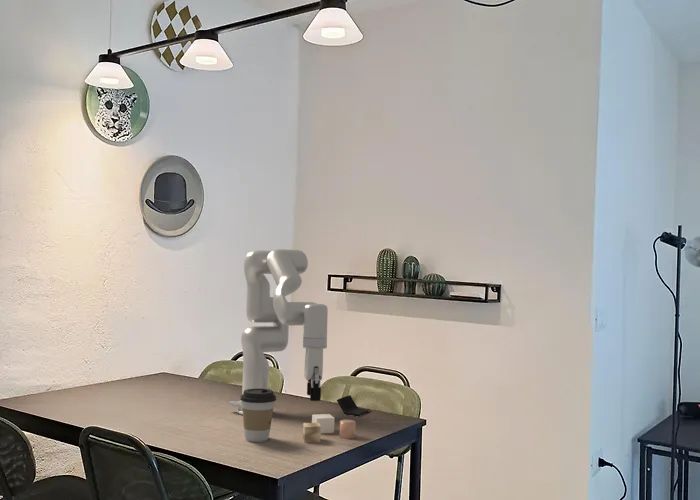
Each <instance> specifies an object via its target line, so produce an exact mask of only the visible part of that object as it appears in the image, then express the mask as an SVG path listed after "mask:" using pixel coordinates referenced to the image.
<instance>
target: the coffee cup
mask: <svg viewBox="0 0 700 500" xmlns="http://www.w3.org/2000/svg"><path fill="white" fill-rule="evenodd" d="M239 401H242V410H243V415H242V419H243V428H244V431H243V432H244V437H245V441H247V442H251V443H262V442H266V441H268V440H269V437H270V433H271V427H272V426H271V425H272V419H273V414H274V406H275V402H276V401H277V396H276V395H275V394H274V391H273V389H269V388H268V389H260V388H256V389H247V390H244V392H243V395H242V394H241V395H240V398H239Z"/></svg>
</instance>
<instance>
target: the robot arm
mask: <svg viewBox="0 0 700 500" xmlns="http://www.w3.org/2000/svg"><path fill="white" fill-rule="evenodd" d="M308 266H309V261H308V257H307V255H306V253H304V252H303V250H299V249H285V248H282V249H281V248H280V249H279V248H277V249H274V250H261V249H260V250H253V251H249V252H248V253H247V254H246V256H245V257H244V261H243V272H244V273H243V274H244V277H245V281H246V306H245V308H246V317H247V320H248V321H249V322H251V323H263V324H264V323H265V324H266V323H272V325H270V326H267V325H266V326H265V325H261V326H259V325H258V326H251V327H250V326H249V327H246V328H245V329H244V330H243V331H242V333H241V341H240V342H241V348H242V360H243V361H242V385H241V386H242V389H241V392H242V394H241V395H243V392H244V390H247V389H256V388H260V389H269V382H270V381H269V379H270V377H269V376H270V364H269V360H268V359H267V357H266V356H265V354H264V353H274V352H282V351H284V350H286V348H287V347H288V345H289V334H290V333H289V331H290V330H289V329H290V326H291V327H292V326H303V330H302V331H303V333H302V336H303V337H302V348H303V349H305V354H304V356H305V357H304V370H303V371H304V374H303V375H304V378H305V380H306V381H307V382H306V383H307V385H306V387H307V388H306V395H307V396H309V400H310V402H316V401H317V402H320V401H321V399H322V398H321V396H322V387H321V385H322V384H321V381H322V379H323V370H324V349H327V348H328V347H327V346H328V316H329V315H328V314H329V313H328V311H329V310H328V306H327V305H326V304H323V303H316V302H311V301H310V302H309V301H307V302H306V301H305V302H304V301H290V302H289V301H288V300H287V298H286V297H288V296H290V295H291V294H293V293H296V291H297V290H299V288H300V287H301V285H302V283H303V282H302V281H303V280H302V277H301V274H304V273H305V272H306V271H307V269H308ZM266 275H272V278H273V281H274V282H275V284H276V286H277V287H276V288H275V290H274V292H273V296H271V284H270V282H269V280H268V278H267V277H266ZM228 403H229V404H228V405H229V406H228V407H230V408H237V410H236V412H237V413H236V414H239V415H242V416H243V410H242V401H241V400H237V401H233V400H232V401H230V400H229V402H228Z"/></svg>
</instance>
